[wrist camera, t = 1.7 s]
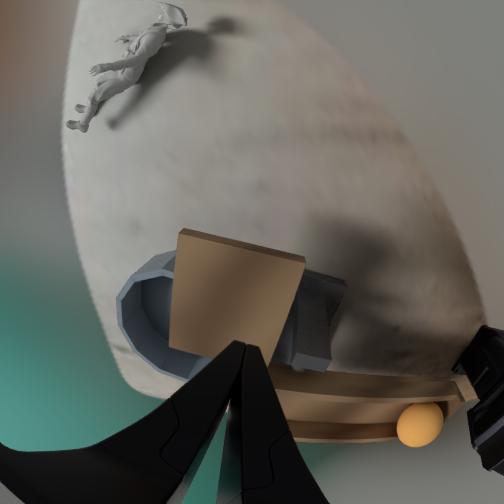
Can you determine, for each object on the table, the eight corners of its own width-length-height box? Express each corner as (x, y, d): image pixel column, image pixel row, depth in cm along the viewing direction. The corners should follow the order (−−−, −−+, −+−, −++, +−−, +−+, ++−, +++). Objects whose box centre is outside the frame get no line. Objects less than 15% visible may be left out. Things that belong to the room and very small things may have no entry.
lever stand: (344, 280, 20) (364, 352, 13) (294, 386, 25) (288, 454, 18) (283, 263, 21) (273, 331, 13) (247, 375, 26) (230, 442, 18)
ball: (437, 386, 16) (459, 420, 13) (411, 415, 18) (429, 447, 14) (407, 395, 15) (430, 435, 12) (380, 424, 17) (398, 461, 13)
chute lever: (495, 303, 14) (518, 329, 10) (406, 421, 19) (415, 448, 16) (184, 226, 13) (159, 253, 10) (170, 395, 19) (159, 428, 16)
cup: (267, 271, 21) (261, 298, 17) (239, 366, 25) (231, 396, 22) (141, 235, 22) (114, 252, 18) (139, 332, 26) (121, 355, 22)
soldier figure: (83, 91, 19) (144, -16, 11) (125, 104, 22) (194, 6, 14) (58, 140, 15) (123, -4, 8) (111, 155, 19) (194, 26, 11)
